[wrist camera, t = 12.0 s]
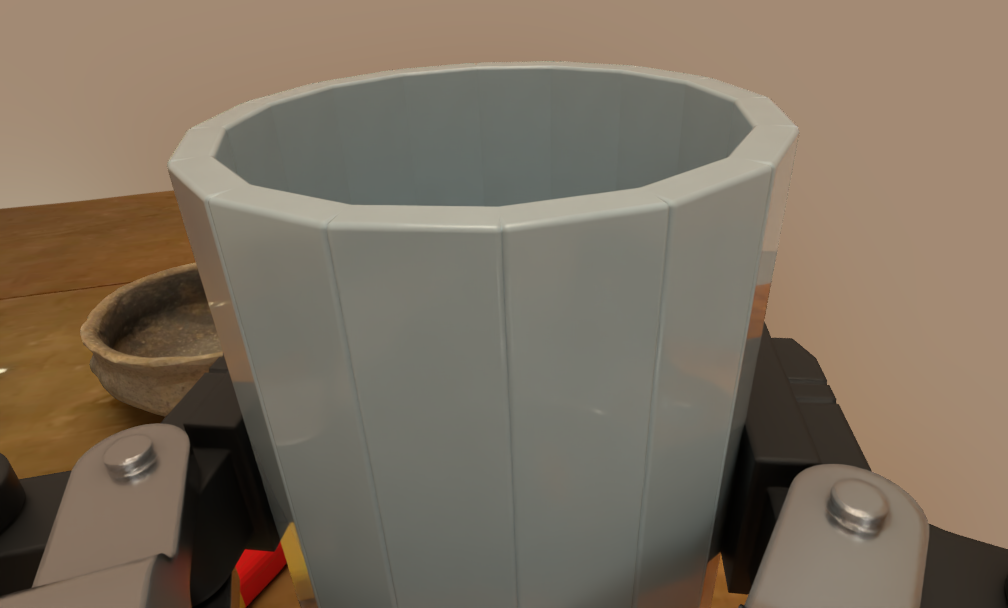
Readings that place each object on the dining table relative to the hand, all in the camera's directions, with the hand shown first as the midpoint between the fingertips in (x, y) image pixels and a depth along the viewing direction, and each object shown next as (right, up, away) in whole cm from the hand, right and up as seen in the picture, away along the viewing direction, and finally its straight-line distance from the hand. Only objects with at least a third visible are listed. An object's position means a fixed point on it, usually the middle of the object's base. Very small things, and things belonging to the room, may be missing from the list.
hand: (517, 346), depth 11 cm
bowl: (-15, -4, +30) cm, 34 cm away
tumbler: (0, -7, +1) cm, 7 cm away
